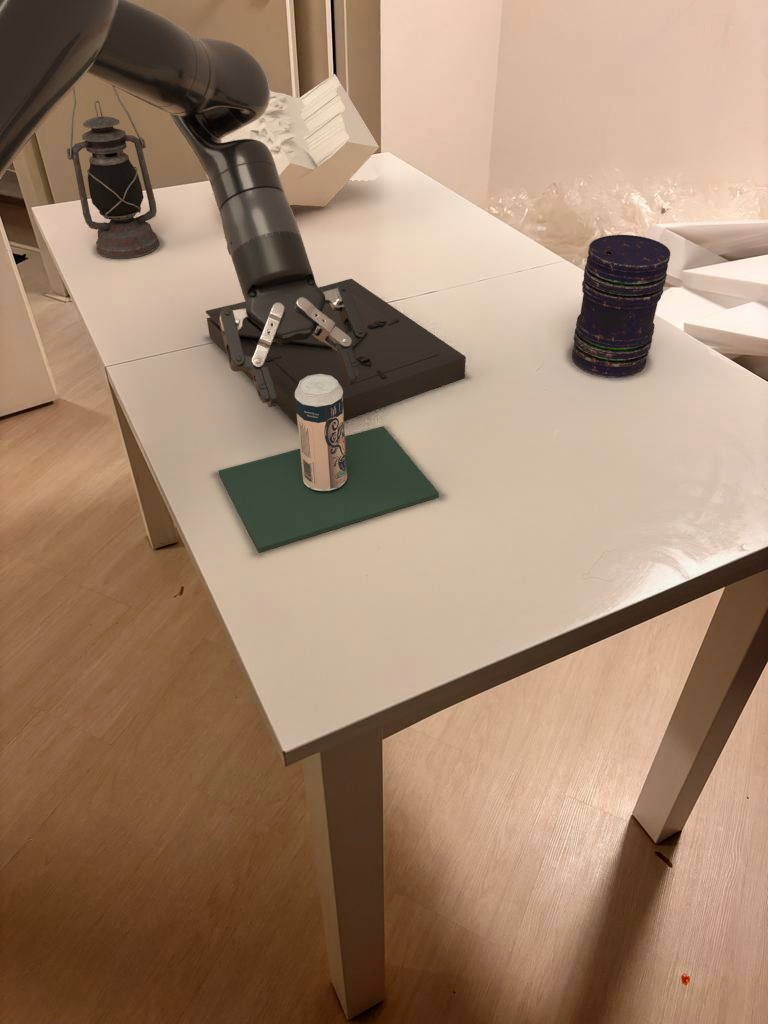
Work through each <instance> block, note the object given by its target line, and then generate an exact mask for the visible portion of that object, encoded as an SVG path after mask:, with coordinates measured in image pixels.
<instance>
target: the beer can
mask: <svg viewBox="0 0 768 1024" xmlns="http://www.w3.org/2000/svg"><path fill="white" fill-rule="evenodd" d="M295 401H296V411H297V422H298V426H297V431H298V442H299V449H300V453H301V464H302V474H303V482H304V483H305V484H306V485H307V486H308V487H309V488H311V489H314V490H317V491H330V490H333V489H337V488H339V487H340V486H342V485H343V484H344V483H345V482H346V480H347V470H346V451H345V436H346V435H345V434H346V432H345V421H344V411H343V389H342V387H341V386H340V384H339V383H338V381H337V380H336V379H335V378H333V377H332V376H330V375H324V374H316V375H310V376H307V377H305V378H304V379H302V380H300V382H299V385H298V387H297V389H296V391H295Z"/></svg>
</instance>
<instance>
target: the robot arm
mask: <svg viewBox="0 0 768 1024" xmlns="http://www.w3.org/2000/svg"><path fill="white" fill-rule="evenodd" d="M86 74H88V75H90V76H93V77H95V78H96V79H99V80H100V81H103V82H105V83H107V84H109V85H111V86H112V85H113V86H114V87H115V88H117V89H118V90H121V91H122V92H125V93H126V94H129V95H130V96H132V97H134V98H137V99H138V100H141V101H142V102H143V103H144V102H145V103H146V104H148V105H151V106H153V107H154V108H157V109H160V110H161V111H163V112H165V113H168V114H169V115H170V118H171V119H172V121H173V122H174V124H175V126H176V127H177V128H178V130H179V131H180V133H181V134H182V136H183V137H184V138H185V141H186V142H187V143H188V144H189V146H190V147H191V149H192V151H193V152H194V154H195V156H196V158H197V159H198V161H199V163H200V164H201V167H202V168H203V170H204V172H205V175H206V174H207V176H208V178H209V179H208V178H207V179H208V181H209V184H210V188H211V190H212V194H213V193H214V196H215V198H214V200H215V199H216V200H215V202H216V205H217V208H218V211H219V215H220V219H221V224H222V229H223V235H224V239H225V242H226V249H227V251H228V255H229V256H230V257H231V261H232V264H233V268H234V270H235V274H236V277H237V280H238V284H239V286H240V290H241V292H242V295H243V299H244V302H246V308H244V309H237V310H232V309H231V308H229V307H224V306H223V307H224V308H223V309H222V310H221V314H220V318H219V324H220V328H221V332H222V336H223V340H224V344H225V348H226V352H227V355H226V356H227V359H228V363H229V368H230V370H232V372H235V373H238V372H243V371H247V372H249V373H250V374H251V375H252V377H253V380H254V382H253V383H254V386H255V389H256V393H257V395H258V398H259V400H260V401H261V403H262V404H265V403H266V404H267V407H268V408H272V407H273V408H274V407H276V406H277V403H278V398H277V394H276V391H275V388H274V385H273V382H272V379H271V376H270V372H269V369H268V366H266V367H265V365H264V361H265V359H266V356H267V354H268V351H269V348H270V346H271V343H272V341H273V342H275V343H279V344H280V345H282V344H287V343H289V342H290V341H292V340H304V339H308V338H309V336H311V335H313V336H314V337H315V338H317V339H318V340H319V341H321V342H324V343H326V344H327V345H329V346H330V347H331V348H332V349H334V350H335V351H336V352H337V355H336V359H337V362H338V365H339V368H340V371H341V375H342V378H343V381H344V384H345V387H346V388H350V387H353V386H354V385H355V384H356V383H357V378H358V377H359V368H358V365H357V363H356V359H355V356H354V353H353V350H352V346H354V345H355V344H358V343H359V342H360V340H361V339H362V337H363V336H364V335H365V333H366V331H365V328H364V325H363V323H362V320H361V317H360V315H359V312H358V310H357V307H356V304H355V302H354V299H353V297H352V294H351V292H350V289H349V287H348V285H347V284H345V283H341V284H340V285H339V286H338V287H337V288H336V289H332V290H328V291H325V292H322V291H321V290H320V289H319V286H318V284H317V283H316V278H315V275H314V272H313V268H312V266H311V264H310V263H311V262H310V260H309V256H308V253H307V251H306V247H305V244H304V240H303V237H302V234H301V230H300V228H299V225H298V222H297V220H296V216H295V214H294V211H293V209H292V207H291V205H289V203H288V201H287V198H286V196H285V193H284V190H283V187H282V183H281V180H280V177H279V174H278V171H277V168H276V164H275V161H274V159H273V156H272V154H271V152H270V150H269V148H268V147H267V146H266V145H265V144H264V143H262V142H261V141H258V140H254V139H241V140H234V141H229V142H224V143H222V138H223V137H225V136H227V135H229V134H231V133H233V132H235V131H237V130H238V129H240V128H242V127H244V126H246V125H248V124H250V123H252V122H254V121H255V120H257V119H258V118H260V117H261V116H262V115H263V114H264V113H265V111H266V109H267V107H268V104H269V100H270V90H271V87H270V83H269V79H268V76H267V74H266V72H265V70H264V68H263V67H262V65H261V63H260V62H259V61H258V59H256V58H255V56H253V55H252V54H251V53H250V52H249V51H248V50H246V49H245V48H243V47H242V46H240V45H238V44H236V43H234V42H230V41H227V40H223V39H216V38H209V37H201V36H194V35H193V34H191V33H190V32H188V31H187V30H185V29H184V28H183V27H181V26H179V24H177V23H175V22H173V21H172V20H170V19H168V18H167V17H165V16H164V15H162V14H160V13H158V12H155V11H154V10H151V9H149V8H147V7H144V6H142V5H140V4H137V3H135V2H133V1H130V0H0V180H2V178H3V176H4V175H5V173H6V172H7V171H8V169H9V168H10V166H11V165H12V163H13V162H14V161H15V159H16V158H17V157H18V156H19V154H20V152H21V151H22V150H23V148H24V147H25V146H26V145H27V143H28V142H29V141H30V140H31V138H32V137H34V134H36V132H37V131H38V130H39V128H41V126H42V125H43V124H44V123H45V122H46V120H47V119H48V118H49V117H50V116H51V115H52V114H53V112H54V111H55V110H56V109H57V108H58V106H59V105H61V103H62V102H63V101H64V99H65V98H66V97H67V96H68V95H69V94H70V93H71V92H72V91H73V88H75V87H76V86H77V85H78V84H79V82H80V81H81V80H82V79H83V78H84V76H86ZM207 176H206V177H207ZM325 303H327V304H329V305H330V306H331V307H332V309H333V310H335V311H338V313H339V315H340V318H341V321H342V323H343V326H344V328H345V331H346V333H347V334H346V333H344V332H343V331H342V330H340V329H339V328H338V327H337V326H336V324H335V323H334V322H333V321H332V320H331V319H330V318H328V317H327V316H326V315H325V314H323V313H322V310H323V308H324V305H325ZM245 320H247V322H248V323H250V324H251V325H252V326H253V327H255V328H256V329H257V330H258V331H260V332H261V333H262V334H261V337H260V339H259V342H258V344H257V347H256V350H255V352H254V355H253V356H247V355H244V353H243V349H242V345H241V341H240V337H239V333H238V332H240V331H241V329H242V326H243V321H245Z"/></svg>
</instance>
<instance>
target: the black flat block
mask: <svg viewBox="0 0 768 1024" xmlns="http://www.w3.org/2000/svg"><path fill="white" fill-rule="evenodd" d="M341 283H345V284H347V285H348V287H349V289H350V292H351V294H352V297H353V299H354V302H355V304H356V307H357V310H358V312H359V315H360V317H361V320H362V323H363V325H364V328H365V331H366V333H365V335H364V336H363V337H362V339H361V340H360V342H359V343H358V344H355V345H354V346H352V350H353V353H354V356H355V359H356V363H357V365H358V368H359V377H358V378H357V383H356V384H355V385H354V386H353V387H350V388H346V387H345V384H344V381H343V378H342V375H341V371H340V368H339V365H338V362H337V359H336V355H337V352H336V351H335V350H334V349H332V348H331V347H330V346H329V345H327V344H326V343H324V342H321V341H319V340H318V339H317V338H315V337H314V336H313V335H311V336H309V338H308V339H304V340H292V341H290V342H289V343H287V344H282V345H280V344H279V343H275V342H273V341H272V343H271V346H270V348H269V351H268V354H267V356H266V359H265V361H264V365H265V367H266V366H268V369H269V372H270V376H271V379H272V382H273V385H274V388H275V391H276V394H277V398H278V403H277V405H276V406H277V407H278V409H280V410H281V411H282V412H283V413H284V415H286V416H287V417H288V418H289V420H291V421H292V422H293V423H294V424H295V425H296V426H297V427H298V422H297V411H296V401H295V391H296V389H297V387H298V385H299V382H300V380H302V379H304V378H305V377H307V376H310V375H316V374H324V375H330V376H332V377H333V378H335V379H336V380H337V381H338V383H339V384H340V386H341V387H342V389H343V411H344V422H345V421H347V420H350V419H353V418H355V417H358V416H362V415H364V414H367V413H370V412H372V411H373V412H374V411H376V410H378V409H381V408H384V407H386V406H389V405H392V404H395V403H397V402H400V401H403V400H406V399H410V398H412V397H414V396H417V395H421V394H423V393H425V392H428V391H431V390H435V389H436V388H439V387H443V386H446V385H448V384H450V383H453V382H458V381H459V380H462V379H464V378H465V377H466V362H467V361H466V360H467V357H466V356H465V355H464V354H463V353H461V352H460V351H458V350H457V349H455V348H454V347H452V346H451V345H449V344H448V343H447V342H445V341H444V340H443V339H440V338H439V337H438V336H436V335H435V334H434V333H432V332H430V331H429V330H428V329H426V328H425V327H424V326H422V325H420V324H419V323H417V322H416V321H414V320H413V319H411V318H410V317H408V316H407V315H406V314H405V313H402V312H401V311H400V310H398V309H397V308H395V307H394V306H393V305H391V304H389V303H388V302H386V301H385V300H384V299H382V298H381V297H380V296H378V295H376V294H375V293H374V292H372V291H370V290H369V289H367V288H366V287H365V286H363V285H361V284H360V283H359V282H357V281H356V280H354V279H353V278H347V279H345V280H344V279H343V280H340V281H336V282H334V283H333V282H332V283H329V284H327V285H323V286H318V288H319V289H320V290H321V291H322V292H325V291H328V290H332V289H336V288H337V287H338V286H339V285H340V284H341ZM224 307H229V308H231V309H232V310H237V309H244V308H246V302H245V301H241V302H237V303H233V304H229V305H224V306H220V307H216V308H212V309H211V308H210V309H208V310H205V314H206V315H207V316H209V317H207V318H206V324H207V328H208V334H209V339H210V340H211V341H212V342H213V343H214V345H216V346H217V347H218V348H219V349H220V350H221V351H222V352H223V353H224V354H225V355H226V356H227V352H226V348H225V344H224V340H223V336H222V332H221V328H220V324H219V318H220V314H221V310H222V309H223V308H224ZM322 313H323V314H325V315H326V316H327V317H328V318H330V319H331V320H332V321H333V322H334V323H335V324H336V326H337V327H338V328H339V329H340V330H342V331H343V332H344V333H346V331H345V328H344V326H343V323H342V321H341V318H340V315H339V313H338V311H335V310H333V309H332V307H331V306H330V305H329V304H327V303H325V305H324V308H323V310H322ZM238 333H239V337H240V341H241V345H242V349H243V353H244V355H247V356H253V355H254V352H255V350H256V347H257V344H258V342H259V339H260V337H261V334H262V333H261V332H260V331H258V330H257V329H256V328H255V327H253V326H252V325H251V324H250V323H248V322H247V320H245V321H243V326H242V329H241V331H240V332H238ZM346 334H347V333H346ZM242 372H243V373H244V374H245V375H246V376H247V377H248V378H249V379H250V380H251V381H252V382H253V383H254V380H253V377H252V375H251V374H250V373H249V372H247V371H242Z"/></svg>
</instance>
